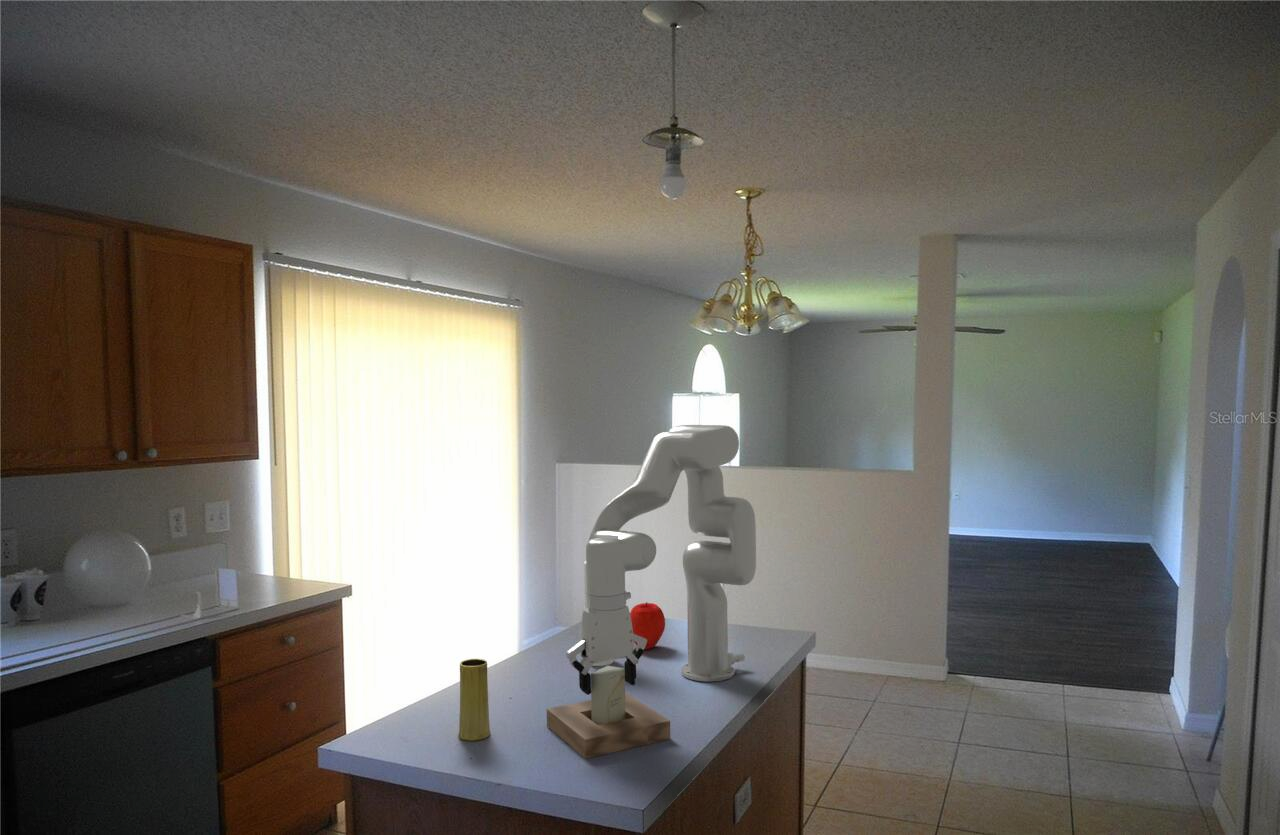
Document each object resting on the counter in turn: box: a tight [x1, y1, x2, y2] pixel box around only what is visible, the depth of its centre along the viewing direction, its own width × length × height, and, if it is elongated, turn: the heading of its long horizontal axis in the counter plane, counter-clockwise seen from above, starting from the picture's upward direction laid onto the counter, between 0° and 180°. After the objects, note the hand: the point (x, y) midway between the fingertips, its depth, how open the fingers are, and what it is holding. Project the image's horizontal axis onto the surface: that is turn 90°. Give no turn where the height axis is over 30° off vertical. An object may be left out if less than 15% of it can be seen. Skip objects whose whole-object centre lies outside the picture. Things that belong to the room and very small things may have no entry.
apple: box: [629, 601, 666, 651], centre depth 222 cm, size 10×10×12 cm
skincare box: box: [590, 665, 626, 725], centre depth 165 cm, size 6×4×12 cm
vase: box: [457, 658, 491, 742], centre depth 164 cm, size 6×6×14 cm
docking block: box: [546, 692, 671, 760], centre depth 165 cm, size 18×18×4 cm
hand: (608, 687), depth 165 cm, fingers open, 9 cm apart
